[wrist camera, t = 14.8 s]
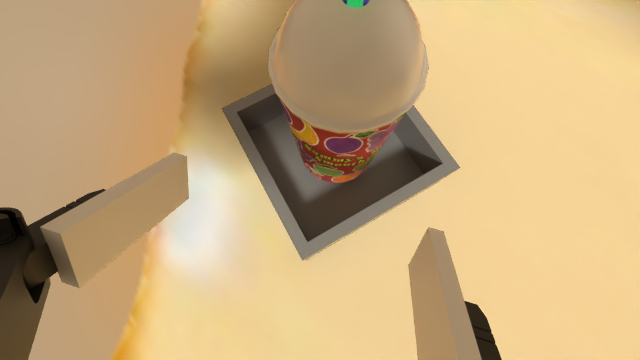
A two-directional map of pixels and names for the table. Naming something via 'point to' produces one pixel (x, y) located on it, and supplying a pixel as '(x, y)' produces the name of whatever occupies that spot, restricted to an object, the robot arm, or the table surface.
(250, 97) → the holder tray
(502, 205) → the table surface
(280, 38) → the smoothie
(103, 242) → the robot arm
